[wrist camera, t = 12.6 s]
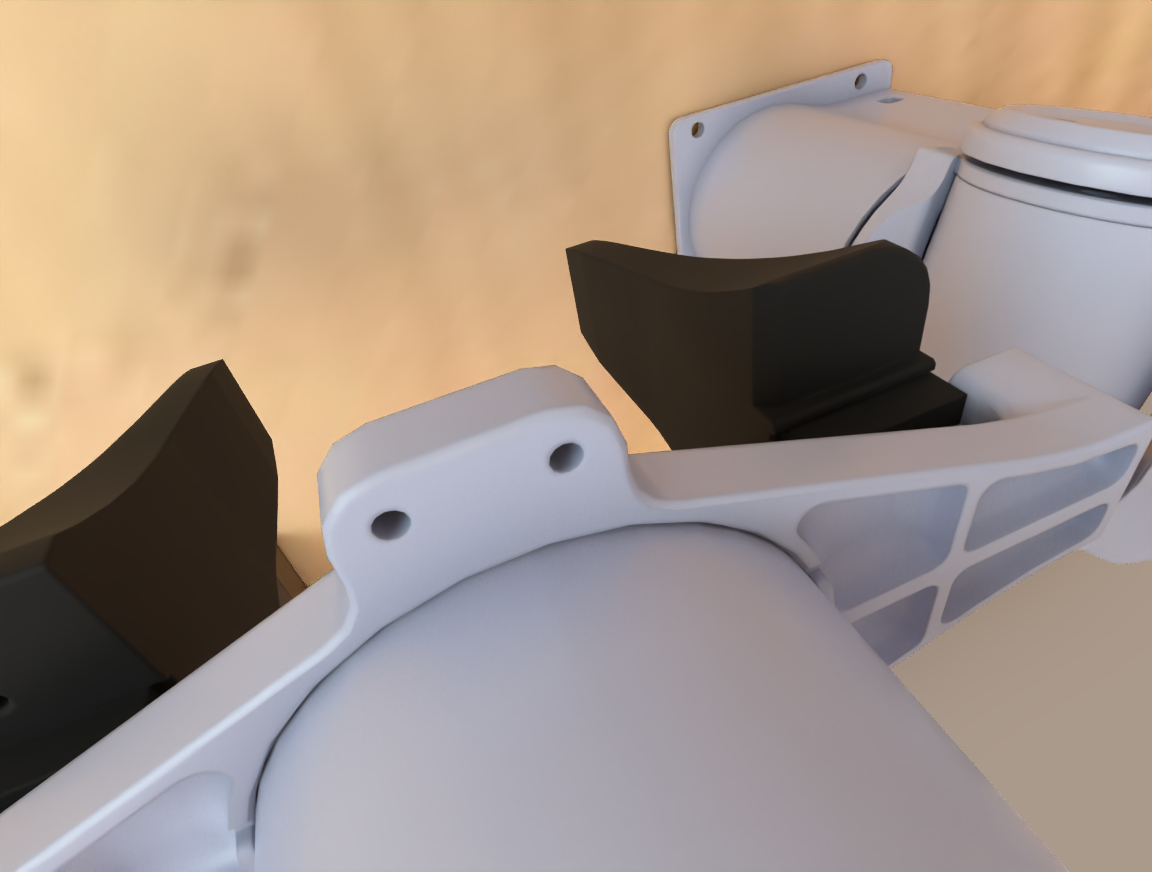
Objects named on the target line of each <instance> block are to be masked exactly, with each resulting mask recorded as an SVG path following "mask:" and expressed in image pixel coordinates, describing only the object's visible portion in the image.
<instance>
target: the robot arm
mask: <svg viewBox="0 0 1152 872" xmlns="http://www.w3.org/2000/svg"><path fill="white" fill-rule="evenodd" d="M892 72H893V71H892V64H891V62H889V61H888V60H875V61H871V62H868V63H864V64H861V65H858V66H854V67H851V68H847V69H844V70H840V71H837V72H834V73H830V74H827V75H823V76H820V77H816V78H813V79H809V80H806V81H803V82H799V83H796V84H792V85H789V86H785V87H782V88H779V89H775V90H772V91H768V92H765V93H761V94H758V95H755V96H751V97H748V98H744V99H741V100H737V101H734V102H731V103H727V104H724V105H720V106H717V107H713V108H710V109H707V110H703V111H700V112H696V113H693V114H689V115H686V116H682V117H680V118H678V119H676V120H675V121H674V122H673V123H672V124H671V127H670V129H669V145H670V159H671V173H672V187H673V200H674V214H675V228H676V241H677V254H671V253H665V252H660V251H654V250H649V249H644V248H639V247H634V246H629V245H624V244H619V243H613V242H607V241H599V240H592V241H588V242H585V243H582V244H579V245H576V246H573V247H570V248H567V249H566V254H567V260H568V265H569V270H570V276H571V281H572V286H573V292H574V297H575V302H576V308H577V313H578V318H579V324H580V329H581V333H582V334H583V336H584V338H585V339H586V341H587V343H588V344H589V346H590V348H591V349H592V351H593V352H594V354H595V356H596V357H597V359H598V360H599V362H600V363H601V364H602V365H603V367H604V368H605V369H606V370H607V371H608V373H609V374H610V375H611V376H612V377H613V378H614V379H615V381H616V382H617V383H618V384H619V385H620V386H621V387H622V389H623V390H624V391H625V392H626V393H627V394H628V395H629V397H630V398H631V399H632V400H633V401H634V402H635V403H636V404H637V406H638V407H639V408H640V409H641V410H642V411H643V412H644V414H645V415H646V416H647V417H648V418H649V419H650V420H651V422H652V423H653V424H654V426H655V427H656V428H657V429H658V431H659V432H660V433H661V435H662V436H663V438H664V439H665V441H666V442H667V444H668V445H669V447H670V448H671V450H672V451H661V452H649V453H638V454H628V450H627V443H626V440H625V439H624V437H623V435H622V433H621V431H620V429H619V428H618V426H617V424H616V422H615V420H614V418H613V417H612V415H611V414H610V413H609V411H608V410H607V409H606V407H605V406H604V405H603V404H602V402H601V401H600V400H599V398H598V397H597V396H596V394H595V393H594V392H593V390H592V389H591V388H590V386H589V385H588V384H587V383H586V381H585V380H584V379H583V378H582V377H580V376H578V375H576V374H574V373H571V372H569V371H567V370H565V369H563V368H560V367H558V366H556V365H551V366H542V367H533V368H524V369H518V370H515V371H513V372H510V373H507V374H504V375H501V376H498V377H496V378H493V379H490V380H487V381H484V382H481V383H479V384H476V385H473V386H470V387H467V388H464V389H462V390H459V391H456V392H453V393H450V394H447V395H444V396H442V397H439V398H436V399H433V400H430V401H427V402H425V403H422V404H419V405H416V406H413V407H410V408H408V409H405V410H402V411H399V412H396V413H393V414H391V415H388V416H385V417H382V418H379V419H376V420H374V421H371V422H368V423H365V424H364V425H362V426H361V427H359V428H357V429H356V430H354V431H353V432H351V433H350V434H348V435H346V436H345V437H343V438H342V439H340V440H338V441H337V442H335V443H334V444H333V445H332V446H331V448H330V450H329V452H328V454H327V456H326V458H325V460H324V462H323V463H322V465H321V467H320V469H319V471H318V473H317V481H318V493H319V505H320V517H321V528H322V533H323V538H324V543H325V548H326V554H327V558H328V560H329V561H330V563H331V564H332V566H333V567H334V569H332V570H331V571H330V572H328V573H327V574H326V575H324V576H323V577H322V578H320V579H319V580H318V581H316V582H315V583H313V584H312V585H311V586H309V587H308V588H307V589H305V590H304V591H303V592H301V593H300V594H298V595H297V596H296V597H294V598H293V599H292V600H290V601H289V602H288V603H286V604H285V605H283V606H282V607H281V608H280V604H279V596H278V587H277V573H276V549H277V512H278V475H277V468H276V461H275V455H274V449H273V444H272V439H271V437H270V436H269V434H268V433H267V431H266V429H265V428H264V426H263V424H262V423H261V421H260V419H259V418H258V416H257V414H256V413H255V411H254V410H253V408H252V406H251V405H250V403H249V401H248V400H247V398H246V396H245V395H244V393H243V392H242V390H241V388H240V387H239V385H238V383H237V382H236V380H235V378H234V377H233V375H232V373H231V372H230V370H229V369H228V367H227V365H226V364H225V362H224V360H223V359H221V360H218V361H215V362H212V363H209V364H206V365H203V366H200V367H196V368H193V369H190V370H189V371H187V372H186V373H185V374H183V375H182V376H181V377H180V378H179V379H178V380H176V381H175V382H174V383H173V384H172V385H171V386H170V387H169V388H168V389H167V390H166V391H165V392H164V393H163V394H162V395H161V397H160V398H159V399H158V400H157V401H156V402H155V403H154V404H153V405H152V406H151V407H150V408H149V409H148V410H147V411H146V412H145V413H144V414H143V415H142V416H141V417H140V418H139V419H138V420H137V421H136V422H135V423H134V424H133V425H132V426H131V427H130V428H129V429H128V430H127V431H126V432H125V433H124V434H123V435H122V436H120V437H119V438H118V439H117V440H116V441H115V442H114V443H113V444H112V445H111V446H110V447H109V448H108V449H107V450H106V451H105V452H104V453H102V454H101V455H100V456H99V457H98V458H97V459H95V460H94V461H93V462H92V463H91V464H89V465H88V466H87V467H86V468H85V469H83V470H82V471H81V472H80V473H78V474H77V475H76V476H74V477H73V478H72V479H70V480H69V481H68V482H67V483H65V484H64V485H63V486H61V487H60V488H59V489H57V490H56V491H54V492H53V493H52V494H50V495H49V496H47V497H46V498H44V499H43V500H41V501H39V502H38V503H36V504H35V505H33V506H32V507H30V508H29V509H27V510H26V511H24V512H23V513H21V514H20V515H18V516H17V517H15V518H14V519H12V520H11V521H9V522H8V523H6V524H4V525H3V526H1V527H0V872H1069V871H1068V870H1067V869H1066V868H1065V866H1064V865H1063V864H1062V863H1061V862H1060V861H1059V859H1057V857H1056V856H1055V855H1054V854H1053V853H1052V852H1051V850H1050V849H1049V848H1048V847H1047V846H1046V845H1045V844H1044V842H1043V841H1042V840H1041V839H1040V838H1039V837H1038V836H1037V835H1036V834H1035V832H1034V831H1033V830H1032V829H1031V828H1030V827H1029V826H1028V824H1027V823H1026V822H1025V821H1024V820H1023V819H1022V818H1021V817H1020V815H1019V814H1018V813H1017V812H1016V811H1015V810H1014V809H1013V807H1012V806H1011V805H1010V804H1009V803H1008V802H1007V801H1006V800H1005V799H1004V797H1003V796H1002V795H1001V794H1000V793H999V792H998V790H997V789H996V788H995V787H994V786H993V785H992V784H991V783H990V781H989V780H988V779H987V778H986V777H985V776H984V775H983V773H982V772H981V771H980V770H979V769H978V768H977V767H976V766H975V764H974V763H973V762H972V761H971V760H970V759H969V758H968V757H967V755H966V754H965V753H964V752H963V751H962V750H961V749H960V748H959V746H958V745H957V744H956V743H955V742H954V741H953V740H952V738H951V737H950V736H949V735H948V734H947V733H946V732H945V730H944V729H943V728H942V727H941V726H940V725H939V724H938V723H937V722H936V720H935V719H934V718H933V717H932V716H931V715H930V714H929V712H928V711H927V710H926V709H925V708H924V707H923V706H922V704H921V703H920V702H919V701H918V700H917V699H916V698H915V696H914V695H913V694H912V693H911V692H910V691H909V690H908V689H907V688H906V686H905V685H904V684H903V683H902V682H901V681H900V680H899V678H898V677H897V676H896V675H895V674H894V673H893V672H892V671H891V669H892V668H893V667H895V666H896V665H898V664H899V663H900V662H902V661H904V660H905V659H906V658H908V657H909V656H911V655H912V654H914V653H915V652H917V651H918V650H920V649H921V648H922V647H924V646H925V645H927V644H928V643H930V642H931V641H932V640H934V639H935V638H937V637H938V636H940V635H941V634H943V633H944V632H946V631H947V630H948V629H950V628H951V627H953V626H954V625H956V624H957V623H959V622H960V621H962V620H963V619H964V618H966V617H967V616H969V615H970V614H972V613H973V612H975V611H976V610H978V609H979V608H981V607H982V606H984V605H985V604H987V603H988V602H990V601H991V600H993V599H994V598H996V597H997V596H999V595H1000V594H1002V593H1003V592H1005V591H1006V590H1008V589H1009V588H1011V587H1013V586H1014V585H1015V584H1017V583H1019V582H1021V581H1022V580H1024V579H1025V578H1027V577H1029V576H1031V575H1032V574H1034V573H1036V572H1038V571H1039V570H1041V569H1043V568H1044V567H1046V566H1048V565H1049V564H1051V563H1052V562H1054V561H1056V560H1058V559H1060V558H1062V557H1064V556H1066V555H1068V554H1070V553H1072V552H1073V551H1075V550H1077V549H1079V550H1081V551H1084V552H1087V553H1089V554H1092V555H1094V556H1097V557H1099V558H1101V559H1104V560H1106V561H1108V562H1110V563H1113V564H1128V563H1135V562H1141V561H1148V560H1152V414H1151V415H1148V414H1146V413H1144V412H1142V411H1140V408H1141V407H1142V405H1143V404H1144V402H1145V401H1146V399H1147V398H1148V396H1149V395H1150V393H1151V392H1152V117H1146V116H1139V115H1131V114H1123V113H1115V112H1107V111H1098V110H1089V109H1079V108H1069V107H1058V106H1045V105H1026V104H1013V105H1005V106H1003V107H1001V108H999V109H994V108H989V107H984V106H978V105H973V104H968V103H962V102H957V101H952V100H946V99H941V98H936V97H930V96H925V95H920V94H914V93H909V92H904V91H898V90H893V89H890V88H891V80H892ZM858 76H859V82H858V84H857V85H856V86H855V81H856V78H857V77H858ZM697 122H698V124H699V130H698V132H697V133H696V134H695V135H693V136H692V133H691V131H692V127H693V125H694V124H695V123H697Z"/></svg>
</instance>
